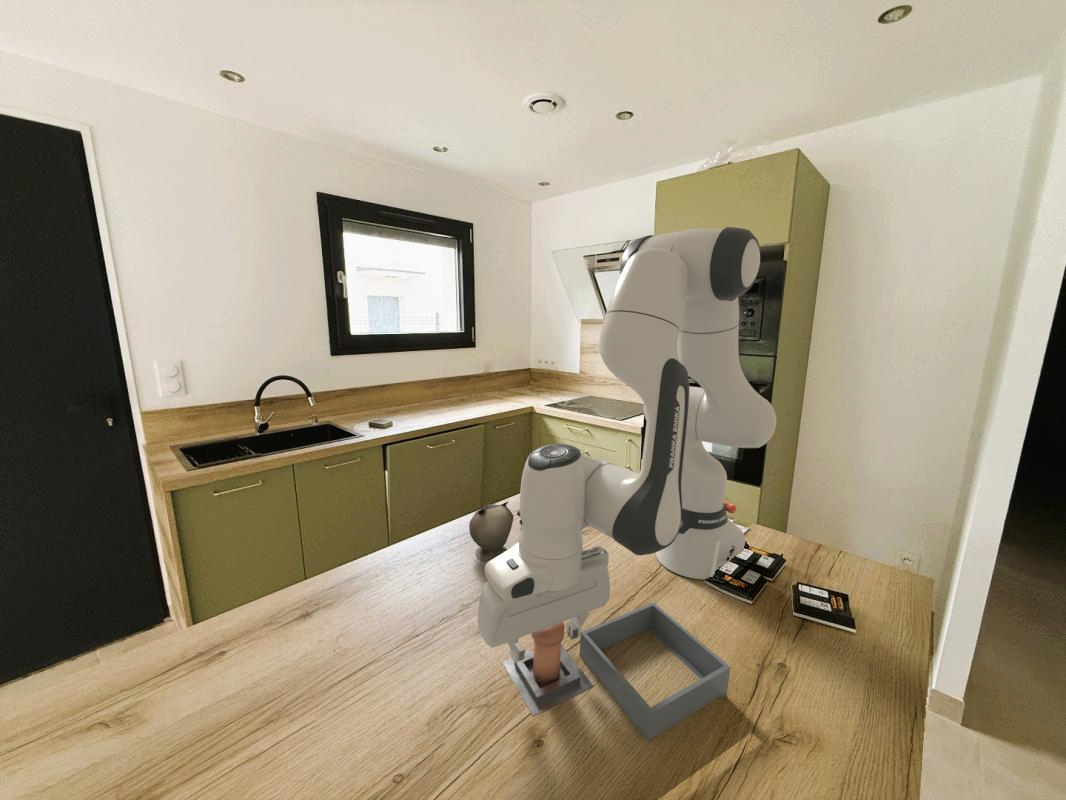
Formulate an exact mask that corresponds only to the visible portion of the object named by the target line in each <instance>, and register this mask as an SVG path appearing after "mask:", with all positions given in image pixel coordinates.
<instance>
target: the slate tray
mask: <svg viewBox="0 0 1066 800" xmlns="http://www.w3.org/2000/svg"><path fill="white" fill-rule="evenodd" d="M645 630H648V632H650V633H651V634H652V635H653V636H654V637H655V638H656V639H657V640H658V641H659V642H661V644H662V645H664V646H665V647H666V649H668V650H669V651H670V652H671V653H672V654H673V655H674V656H675V657H677V658H678V660H679V661H680V662H681V663H683V664H684V665H685V666H686V667H687V668H688V669H689V670H691V672H693V673H694V675H696V676H697V677H698V678H699V679H698V680H695V682H693V683H692V684H689V685H688V686H686V687H685V688H682V689H681V690H679V691H678V692H676V693H674V694H671V695H670V696H669V697H667V698H664V699H663V700H661V701H660V702H658V703H656V704H654V705H653V706H650V705H649V703H648V702H647V701H645V699H644V698H643V697H642V695H641V694H639V692H638V691H637V689H635V688H634V686H633V685H632V684H631V683H630V682H629V681H628V679H627V678H625V676H624V675H623V674H622V673H621V672H620V670H618V668H617V667H616V666H615V665H614V664H613V662H612V661H611V660H610V659H609V658H608V657H607V656H606V655H605V653H604V652H603V651H602V649H606V648H607V647H610V646H613V645H614V644H616V643H618V642H621V641H623V640H626V639H628V638H630V637H632V636H634V635H636V634H639V633H641V632H643V631H645ZM579 641H580V642H579V657H580V658H581V659H582V660H583V661H584V663H585V665H586V666H587V667H588V668H589V669H590V671H592V673H593V674H594V675H595V677H596V678H597V679H598V681H599V682H600V684H602V685H603V687H604V688H605V689H606V690H607V692H608V693H609V694H610V695H611V697H612V698H613V699H614V701H615V702H616V703H617V704H618V705H619V707H620V708H621V709H622V710H623V712H624V713H625V714H626V716H627V717H628V718H629V719H630V721H631V722H632V723H633V724H634V726H635V727H636V728H637V730H639V731H640V733H641V735H643V737H644V738H645V739H646V741H648V742H649V741H650V740H652V739H654V738H655V737H657V736H659V735H661V734H662V733H663V732H665V731H666V730H669V729H670V728H672V727H673V726H675V725H676V724H679V723H680V722H681V721H683V720H685V719H686V718H688V717H689V716H691V715H693V714H694V713H696V712H697V711H699V710H701V709H702V708H704V707H706V706H707V705H709V704H710V703H712V702H713V701H716V700H717V699H719V698H720V699H722V700H724V699H725V698H727V695H728V688H729V683H730V674H731V669H732V668H731V666H730V665H729V664H728V663H727V662H725V661H724V660H723V659H721V657H720V656H718V655H716V653H715V652H713V651H712V650H711V649H710V648H709V647H708V646H706V645H705V644H704V643H702V642H701V641H700V640H699V639H698V638H697V637H696V636H694V635H693V634H692V633H690V631H688V630H687V629H686V628H684V627H683V626H682V625H681V624H680V623H679V622H678V621H676V620H675V618H673V617H672V616H670V615H669V614H668V613H667V612H665V610H663V609H662V608H661V607H660V606H658V604H656V603H655V602H651V603H650V602H649V603H648V604H645V605H643V606H641V607H638V608H636V609H633V610H631V611H628V612H626V613H623V614H621V615H619V616H617V617H615V618H612V619H610V620H606V621H605V622H602V623H600V624H598V625H594V626H593V627H590V628H588V629H585V630H583V631H582V630H581V633H580V639H579Z"/></svg>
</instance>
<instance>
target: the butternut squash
mask: <svg viewBox="0 0 1066 800" xmlns="http://www.w3.org/2000/svg"><path fill="white" fill-rule="evenodd" d="M565 627H566V626H565V623H564V621H563V622H560V623H557V624H555V625H552V626H549V627H547V628H544V629H541V630H539V631H536V632H534V633H531V637H532V640H533V649H534V657H533V676H534V678H535V680H536V681H537V682H538V683H540V684H542V685H549V684H551V683H553V682H556V681H558V679H559V677H560V658H561V645H562V641H563V640H564V637H565Z"/></svg>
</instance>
